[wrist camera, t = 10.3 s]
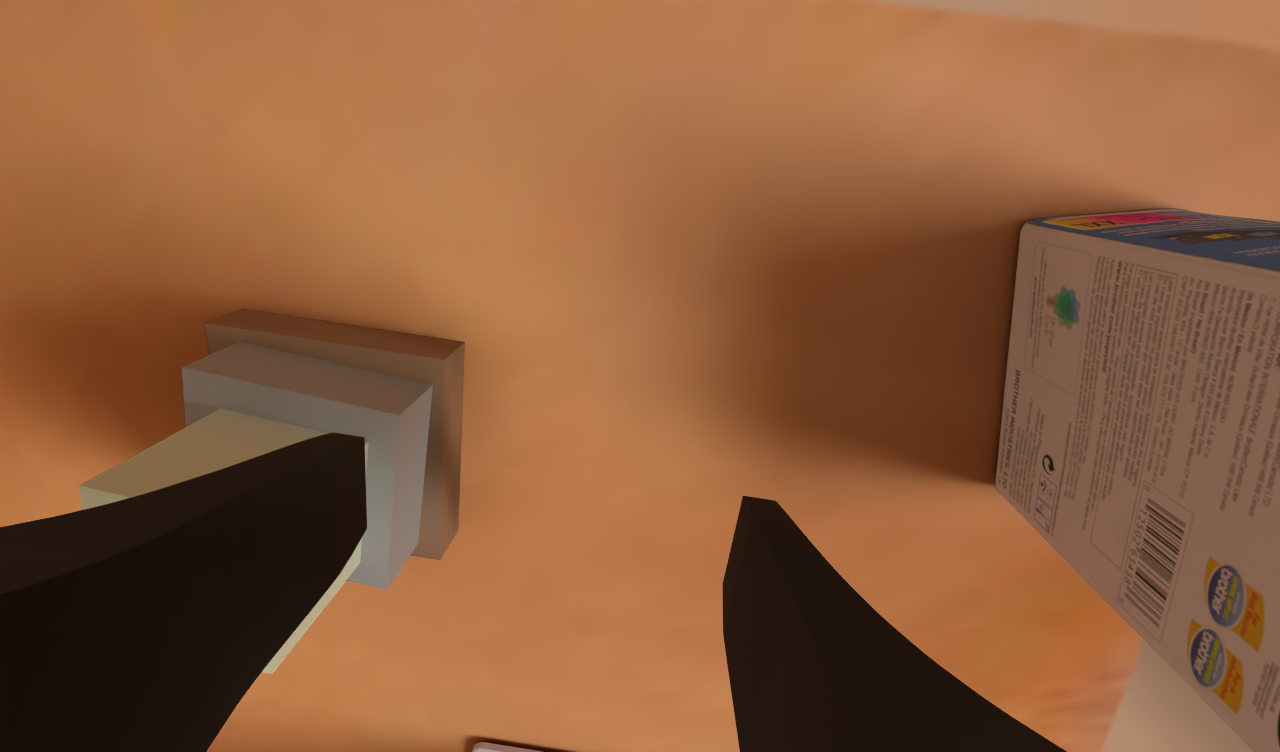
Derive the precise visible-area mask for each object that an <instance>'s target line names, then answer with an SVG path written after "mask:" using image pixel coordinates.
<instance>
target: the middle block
mask: <svg viewBox="0 0 1280 752" xmlns="http://www.w3.org/2000/svg"><path fill="white" fill-rule="evenodd" d="M182 381H183V396H184V410H185V424H186V427H187V426H189V425H191V424H193V423H195V422H196V421H198V420H200V419H202V418H204V417H206V416H207V415H209V414H211V413H213V412H215V411H217V410H218V409H220V408H222V409H226V410H230V411H235V412H239V413H243V414H248V415H252V416H257V417H261V418H265V419H270V420H274V421H278V422H283V423H287V424H292V425H296V426H300V427H305V428H309V429H313V430H318V431H322V432H327V433H332V432H334V433H340V434H347V435H353V436H360V437H365V441H366V442H368V457H367V472H366V506H367V530H366V531H365V533H364V535H363V537H362V546H361V561H360V564H359V565H358V566H357V568H356V569H355V570H354V571H353V573H352V574H351V575H350V576H349V578H348V579H347V580H346V581H351V582H355V583H360V584H364V585H369V586H374V587H378V588H383V589H388V587H389V586H390V584H391V583H392V581H393V580H394V579H395V577H396V576H397V574H398V573H399V571H400V570H401V568H402V567H403V565H404V564H405V562H406V561H407V559H408V558H409V556H410V555H411V553H412V552H413V550H414V549H415V547H416V546H417V544H418V539H419V528H420V518H421V507H422V496H423V486H424V475H425V464H426V454H427V443H428V432H429V422H430V411H431V400H432V389H433V384H429V383H424V382H420V381H415V380H411V379H406V378H402V377H397V376H393V375H388V374H384V373H379V372H375V371H370V370H366V369H361V368H357V367H352V366H348V365H343V364H339V363H334V362H330V361H325V360H321V359H316V358H311V357H307V356H302V355H298V354H293V353H289V352H284V351H280V350H275V349H271V348H266V347H262V346H257V345H253V344H248V343H244V342H239V343H236V344H234V345H232V346H229V347H227V348H225V349H222V350H220V351H218V352H215V353H213V354H211V355H208V356H206V357H204V358H201V359H199V360H197V361H194V362H192V363H190V364H187V365H185V366H183V367H182Z"/></svg>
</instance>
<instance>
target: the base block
mask: <svg viewBox="0 0 1280 752" xmlns="http://www.w3.org/2000/svg"><path fill="white" fill-rule="evenodd" d="M205 329H206V337H207V345H208V353H209V355H211V354H213V353H215V352H218V351H220V350H222V349H225V348H227V347H229V346H232V345H234V344H236V343H239V342H244V343H248V344H253V345H257V346H262V347H266V348H271V349H275V350H280V351H284V352H289V353H293V354H298V355H302V356H307V357H311V358H316V359H321V360H325V361H330V362H334V363H339V364H343V365H348V366H352V367H357V368H361V369H366V370H370V371H375V372H379V373H384V374H388V375H393V376H397V377H402V378H406V379H411V380H415V381H420V382H424V383H429V384H433V389H432V400H431V411H430V422H429V432H428V443H427V454H426V464H425V475H424V486H423V496H422V507H421V518H420V528H419V539H418V544H417V546H416V547H415V549H414V550H413V552H412V553H411V555H412V556H418V557H424V558H431V559H437V560H441V558H442V556H443V555H444V553H445V551H446V550H447V548H448V546H449V544H450V543H451V541H452V539H453V538H454V536H455V534H456V533H457V531H458V522H459V493H460V464H461V434H462V405H463V376H464V347H465V342H460V341H453V340H446V339H440V338H433V337H427V336H420V335H413V334H407V333H400V332H394V331H387V330H380V329H374V328H367V327H360V326H354V325H347V324H341V323H334V322H327V321H321V320H314V319H308V318H301V317H294V316H288V315H281V314H275V313H268V312H261V311H255V310H248V309H243V310H240V311H238V312H235V313H232V314H229V315H226V316H224V317H221V318H218V319H215V320H213V321H210V322H207V323H205Z"/></svg>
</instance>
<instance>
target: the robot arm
mask: <svg viewBox="0 0 1280 752" xmlns="http://www.w3.org/2000/svg"><path fill="white" fill-rule="evenodd" d="M366 530H367V506H366V470H365V437H360V436H353V435H347V434H340V433H334V432H332V433H328V434H324V435H320V436H317V437H313V438H310V439H307V440H304V441H301V442H298V443H295V444H292V445H289V446H286V447H283V448H280V449H277V450H275V451H272V452H269V453H266V454H263V455H260V456H258V457H255V458H252V459H249V460H246V461H243V462H241V463H238V464H235V465H232V466H229V467H226V468H224V469H221V470H218V471H215V472H211V473H208V474H205V475H202V476H199V477H196V478H193V479H190V480H187V481H183V482H180V483H177V484H174V485H171V486H168V487H165V488H162V489H158V490H155V491H152V492H149V493H145V494H142V495H138V496H135V497H131V498H127V499H124V500H120V501H117V502H113V503H109V504H105V505H101V506H97V507H93V508H89V509H85V510H81V511H77V512H73V513H68V514H64V515H60V516H55V517H51V518H46V519H40V520H35V521H30V522H25V523H20V524H15V525H10V526H5V527H0V752H206V751H207V749H208V748H209V746H210V745H211V743H212V742H213V740H214V739H215V737H216V736H217V734H218V733H219V731H220V730H221V728H222V727H223V725H224V724H225V722H226V721H227V719H228V718H229V716H230V715H231V713H232V712H233V710H234V709H235V707H236V706H237V704H238V703H239V701H240V700H241V699H242V697H243V696H244V694H245V693H246V692H247V690H248V689H249V688H250V686H251V685H252V684H253V682H254V681H255V680H256V678H257V677H258V676H259V675H260V673H261V672H262V671H263V670H264V668H265V667H266V666H267V665H268V663H269V662H270V661H271V660H272V658H273V657H274V656H275V655H276V653H277V652H278V651H279V650H280V649H281V647H282V646H283V645H284V644H285V642H286V641H287V640H288V639H289V637H290V636H291V635H292V634H293V632H294V631H295V630H296V629H297V628H298V626H299V625H300V624H301V623H302V621H303V620H304V619H305V618H306V616H307V615H308V614H309V613H310V611H311V610H312V609H313V608H314V606H315V605H316V604H317V603H318V601H319V600H320V599H321V598H322V596H323V595H324V594H325V593H326V591H327V590H328V589H329V588H330V586H331V585H332V584H333V582H334V581H335V580H336V579H337V577H338V576H339V575H340V573H341V572H342V570H343V568H344V567H345V565H346V564H347V562H348V560H349V559H350V557H351V556H352V554H353V552H354V551H355V549H356V547H357V545H358V544H359V542H360V540H361V538H362V537H363V535H364V533H365V531H366ZM723 634H724V642H725V649H726V656H727V664H728V671H729V678H730V685H731V692H732V699H733V706H734V713H735V720H736V727H737V734H738V740H739V747H740V752H1067V751H1065V750H1063V749H1062V748H1060V747H1058V746H1057V745H1055V744H1054V743H1052V742H1050V741H1049V740H1047V739H1046V738H1044V737H1043V736H1041V735H1039V734H1038V733H1036V732H1035V731H1033V730H1031V729H1030V728H1028V727H1027V726H1025V725H1024V724H1022V723H1020V722H1019V721H1017V720H1016V719H1014V718H1013V717H1011V716H1010V715H1008V714H1007V713H1005V712H1004V711H1002V710H1001V709H999V708H998V707H996V706H995V705H993V704H992V703H990V702H989V701H987V700H986V699H985V698H983V697H982V696H980V695H979V694H978V693H976V692H975V691H973V690H972V689H971V688H969V687H968V686H967V685H965V684H964V683H963V682H961V681H960V680H959V679H957V678H956V677H954V676H953V675H952V674H950V673H949V672H948V671H946V670H945V669H944V668H942V667H941V666H940V665H938V664H937V663H936V662H935V661H933V660H932V659H931V658H930V657H928V656H927V655H926V654H924V653H923V652H922V651H921V650H920V649H918V648H917V647H916V646H915V645H914V644H913V643H911V642H910V641H909V640H908V639H907V638H906V637H904V636H903V635H902V634H901V633H900V632H899V631H897V630H896V629H895V628H894V627H893V626H892V625H890V624H889V623H888V622H887V621H886V620H885V619H884V618H883V617H882V616H880V615H879V614H878V613H877V612H876V611H875V610H874V609H873V608H872V607H871V606H870V605H869V604H868V603H867V602H866V601H865V600H864V599H863V598H862V597H861V596H860V595H859V594H858V593H857V592H856V591H855V590H854V589H853V588H852V587H851V586H850V585H849V584H848V583H847V582H846V581H845V580H844V579H843V578H842V577H841V576H840V575H839V573H838V572H837V571H836V570H835V569H834V568H833V567H832V566H831V565H830V564H829V563H828V561H827V560H826V559H825V558H824V557H823V556H822V555H821V553H820V552H819V551H818V550H817V549H816V548H815V547H814V545H813V544H812V543H811V542H810V541H809V540H808V538H807V537H806V536H805V535H804V534H803V532H802V531H801V530H800V529H799V528H798V526H797V525H796V524H795V523H794V522H793V520H792V519H791V518H790V517H789V516H788V514H787V513H786V512H785V511H784V510H783V509H782V507H781V506H780V505H779V504H778V503H777V502H776V501H774V500H767V499H761V498H754V497H748V496H743V498H742V503H741V507H740V511H739V516H738V520H737V524H736V529H735V533H734V537H733V542H732V546H731V551H730V555H729V559H728V564H727V568H726V572H725V577H724V581H723ZM472 752H542V751H536V750H530V749H524V748H518V747H511V746H505V745H499V744H493V743H486V742H479V743H476V744H475V745H474V747H473V750H472Z"/></svg>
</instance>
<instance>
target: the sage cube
mask: <svg viewBox="0 0 1280 752" xmlns="http://www.w3.org/2000/svg"><path fill="white" fill-rule="evenodd" d="M324 434H328V433H327V432H322V431H318V430H313V429H309V428H305V427H300V426H296V425H292V424H287V423H283V422H278V421H274V420H270V419H265V418H261V417H257V416H252V415H248V414H243V413H239V412H235V411H230V410H226V409H222V408H220V409H218V410H217V411H215V412H213V413H211V414H209V415H207V416H206V417H204V418H202V419H200V420H198V421H196V422H195V423H193V424H191V425H189V426H187V427H185V428H184V429H182V430H180V431H178V432H176V433H174V434H173V435H171V436H169V437H167V438H165V439H163V440H162V441H160V442H158V443H156V444H154V445H153V446H151V447H149V448H147V449H145V450H143V451H142V452H140V453H138V454H136V455H134V456H132V457H131V458H129V459H127V460H125V461H123V462H121V463H120V464H118V465H116V466H114V467H112V468H110V469H109V470H107V471H105V472H103V473H101V474H99V475H98V476H96V477H94V478H92V479H90V480H89V481H87V482H85V483H83V484H81V485H79V490H80V497H81V505H82V510H85V509H89V508H93V507H97V506H101V505H105V504H109V503H113V502H117V501H120V500H124V499H127V498H131V497H135V496H138V495H142V494H145V493H149V492H152V491H155V490H158V489H162V488H165V487H168V486H171V485H174V484H177V483H180V482H183V481H187V480H190V479H193V478H196V477H199V476H202V475H205V474H208V473H211V472H215V471H218V470H221V469H224V468H226V467H229V466H232V465H235V464H238V463H241V462H243V461H246V460H249V459H252V458H255V457H258V456H260V455H263V454H266V453H269V452H272V451H275V450H277V449H280V448H283V447H286V446H289V445H292V444H295V443H298V442H301V441H304V440H307V439H310V438H313V437H317V436H320V435H324ZM367 457H368V442H366V441H365V470H366V472H367ZM361 546H362V538H361V540H360V542H359V544H358V545H357V547H356V549H355V551H354V552H353V554H352V556H351V557H350V559H349V560H348V562H347V564H346V565H345V567H344V568H343V570H342V572H341V573H340V575H339V576H338V577H337V579H336V580H335V581H334V582H333V584H332V585H331V586H330V588H329V589H328V590H327V591H326V593H325V594H324V595H323V596H322V598H321V599H320V600H319V601H318V603H317V604H316V605H315V606H314V608H313V609H312V610H311V611H310V613H309V614H308V615H307V616H306V618H305V619H304V620H303V621H302V623H301V624H300V625H299V626H298V628H297V629H296V630H295V631H294V632H293V634H292V635H291V636H290V637H289V639H288V640H287V641H286V642H285V644H284V645H283V646H282V647H281V649H280V650H279V651H278V652H277V653H276V655H275V656H274V657H273V658H272V660H271V661H270V662H269V663H268V665H267V666H266V667H265V668H264V670H263V671H262V672H264V673H268V674H273V672H274V671H275V670H276V669H277V667H278V666H279V665H280V664H281V662H282V661H283V660H284V659H285V657H286V656H287V655H288V653H289V652H290V651H291V650H292V648H293V647H294V646H295V645H296V643H297V642H298V641H299V640H300V638H301V637H302V636H303V635H304V633H305V632H306V631H307V629H308V628H309V627H310V626H311V624H312V623H313V622H314V621H315V619H316V618H317V617H318V616H319V614H320V613H321V612H322V611H323V609H324V608H325V607H326V605H327V604H328V603H329V602H330V600H331V599H332V598H333V597H334V595H335V594H336V593H337V592H338V590H339V589H340V588H341V587H342V585H343V584H344V583H345V581H346V580H347V579H348V578H349V576H350V575H351V574H352V573H353V571H354V570H355V569H356V568H357V566H358V565H359V564H360V561H361Z"/></svg>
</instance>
